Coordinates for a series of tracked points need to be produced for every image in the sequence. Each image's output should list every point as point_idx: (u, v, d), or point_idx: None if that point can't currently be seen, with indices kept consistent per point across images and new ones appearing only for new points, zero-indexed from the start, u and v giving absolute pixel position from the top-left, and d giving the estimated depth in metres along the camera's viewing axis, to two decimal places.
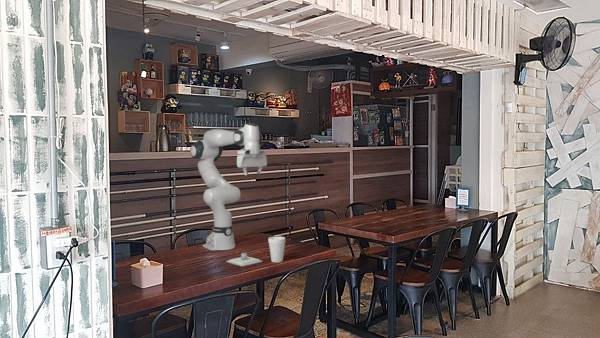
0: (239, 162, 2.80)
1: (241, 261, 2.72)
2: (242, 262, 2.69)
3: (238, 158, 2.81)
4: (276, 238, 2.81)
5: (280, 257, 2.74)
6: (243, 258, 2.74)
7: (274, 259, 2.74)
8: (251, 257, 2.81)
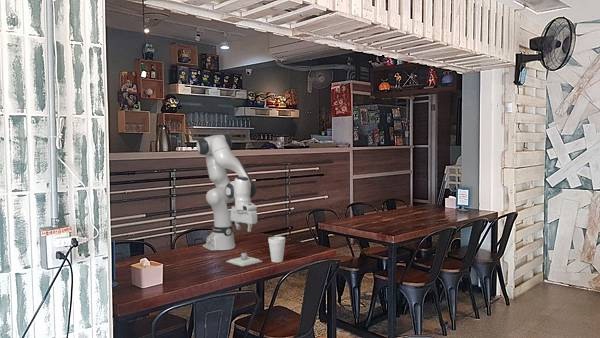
0: (255, 218, 2.68)
1: (241, 261, 2.72)
2: (242, 262, 2.69)
3: (253, 214, 2.67)
4: (276, 238, 2.81)
5: (280, 257, 2.74)
6: (243, 258, 2.74)
7: (274, 259, 2.74)
8: (251, 257, 2.81)
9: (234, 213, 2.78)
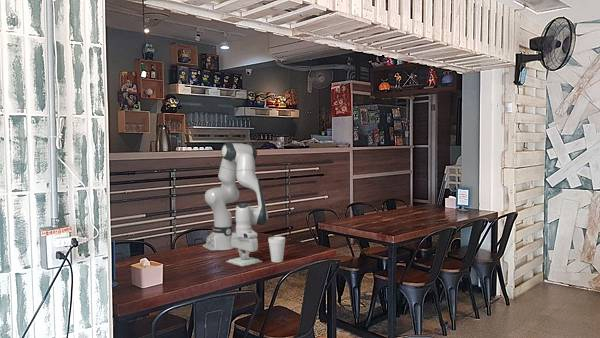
0: (256, 246, 2.69)
1: (241, 261, 2.72)
2: (242, 262, 2.69)
3: (253, 241, 2.68)
4: (276, 238, 2.81)
5: (280, 257, 2.74)
6: (243, 258, 2.74)
7: (274, 259, 2.74)
8: (251, 257, 2.81)
9: (235, 239, 2.79)
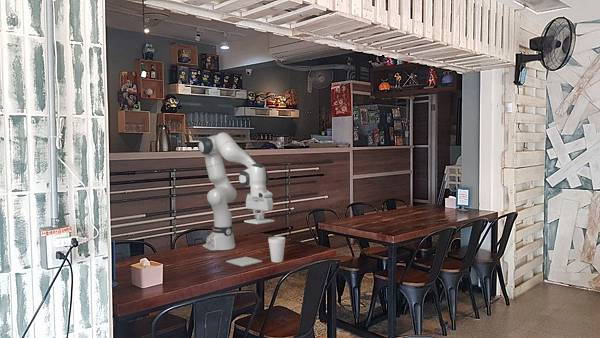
0: (271, 205, 2.68)
1: (256, 221, 2.70)
2: (257, 222, 2.68)
3: (268, 201, 2.67)
4: (276, 238, 2.81)
5: (280, 257, 2.74)
6: (258, 219, 2.73)
7: (274, 259, 2.74)
8: None
9: (249, 201, 2.78)
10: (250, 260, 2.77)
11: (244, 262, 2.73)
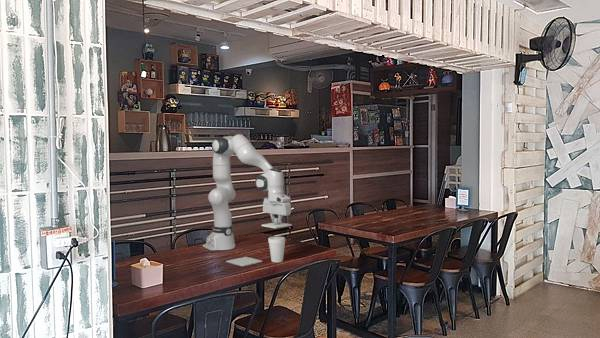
0: (289, 210, 2.69)
1: (274, 225, 2.72)
2: (275, 226, 2.69)
3: (287, 205, 2.68)
4: (276, 238, 2.81)
5: (280, 257, 2.74)
6: (276, 223, 2.75)
7: (274, 259, 2.74)
8: None
9: (267, 205, 2.79)
10: (250, 260, 2.77)
11: (244, 262, 2.73)
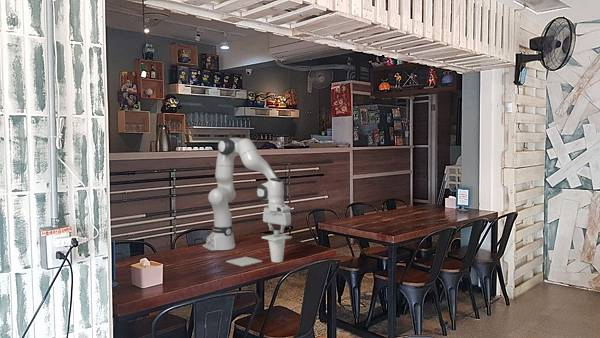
0: (289, 219, 2.69)
1: (274, 238, 2.72)
2: (275, 239, 2.70)
3: (287, 215, 2.69)
4: None
5: (280, 257, 2.74)
6: (276, 235, 2.75)
7: (274, 259, 2.74)
8: None
9: (267, 214, 2.79)
10: (250, 260, 2.77)
11: (244, 262, 2.73)
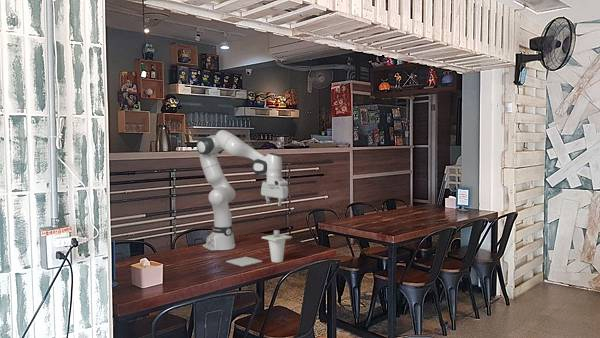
0: (286, 193, 2.79)
1: (274, 238, 2.72)
2: (275, 239, 2.70)
3: (284, 189, 2.78)
4: None
5: (280, 257, 2.74)
6: (276, 235, 2.75)
7: (274, 259, 2.74)
8: (283, 235, 2.81)
9: (265, 188, 2.88)
10: (250, 260, 2.77)
11: (244, 262, 2.73)
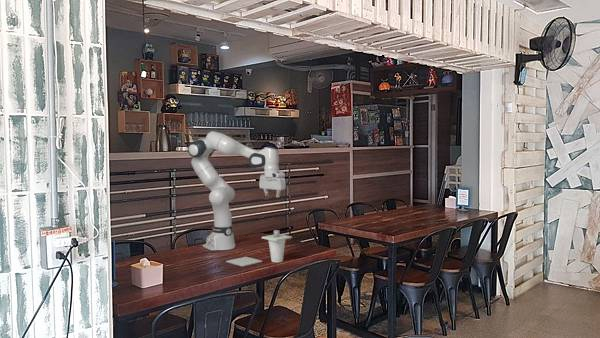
0: (284, 184, 2.87)
1: (274, 238, 2.72)
2: (275, 239, 2.70)
3: (281, 180, 2.87)
4: None
5: (280, 257, 2.74)
6: (276, 235, 2.75)
7: (274, 259, 2.74)
8: (283, 235, 2.81)
9: (263, 181, 2.97)
10: (250, 260, 2.77)
11: (244, 262, 2.73)
